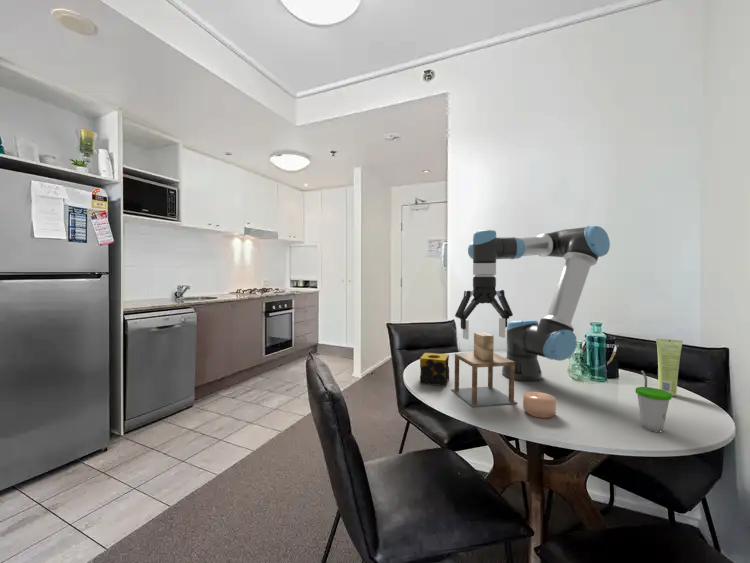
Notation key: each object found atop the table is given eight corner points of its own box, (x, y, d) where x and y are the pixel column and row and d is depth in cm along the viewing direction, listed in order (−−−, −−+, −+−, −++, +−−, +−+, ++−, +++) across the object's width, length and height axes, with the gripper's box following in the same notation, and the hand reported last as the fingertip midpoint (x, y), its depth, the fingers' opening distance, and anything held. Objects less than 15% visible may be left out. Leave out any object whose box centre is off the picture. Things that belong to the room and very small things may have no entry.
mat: (491, 387, 128) (491, 386, 128) (517, 403, 112) (517, 402, 112) (451, 390, 125) (451, 389, 125) (472, 407, 109) (472, 406, 109)
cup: (673, 438, 89) (675, 380, 89) (636, 430, 94) (637, 375, 93) (667, 426, 96) (669, 373, 96) (633, 420, 100) (634, 369, 100)
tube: (664, 390, 125) (666, 337, 125) (681, 395, 120) (682, 340, 120) (654, 392, 123) (656, 338, 123) (670, 397, 118) (672, 341, 118)
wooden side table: (490, 387, 127) (491, 330, 126) (513, 401, 113) (515, 337, 112) (454, 389, 124) (455, 331, 123) (473, 404, 110) (474, 339, 109)
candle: (449, 378, 138) (449, 354, 138) (446, 386, 129) (446, 360, 128) (424, 376, 142) (424, 352, 141) (419, 383, 132) (419, 357, 132)
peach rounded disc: (542, 406, 110) (542, 390, 110) (562, 418, 101) (563, 401, 101) (516, 408, 108) (517, 392, 108) (535, 420, 99) (535, 403, 99)
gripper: (510, 275, 123) (510, 334, 124) (445, 276, 118) (445, 337, 119) (523, 275, 116) (523, 338, 117) (454, 276, 111) (454, 341, 112)
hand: (484, 337), depth 118 cm, fingers open, 13 cm apart
